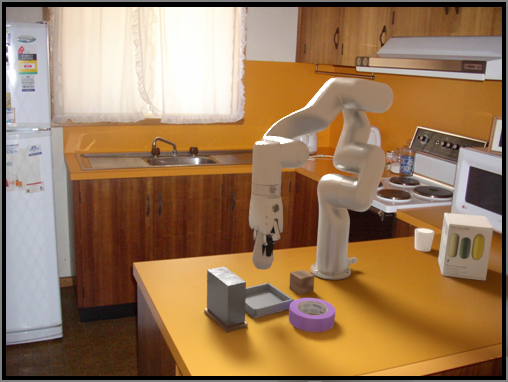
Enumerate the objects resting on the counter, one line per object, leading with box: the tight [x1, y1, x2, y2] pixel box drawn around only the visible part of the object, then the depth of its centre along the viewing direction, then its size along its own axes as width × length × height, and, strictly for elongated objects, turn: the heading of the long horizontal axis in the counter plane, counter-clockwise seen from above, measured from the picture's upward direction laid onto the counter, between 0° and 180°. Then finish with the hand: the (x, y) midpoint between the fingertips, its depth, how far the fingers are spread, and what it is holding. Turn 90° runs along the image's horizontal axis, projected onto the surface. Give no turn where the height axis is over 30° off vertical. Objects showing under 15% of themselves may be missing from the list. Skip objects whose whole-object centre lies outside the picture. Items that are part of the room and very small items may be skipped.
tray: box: [245, 282, 295, 319], centre depth 142 cm, size 12×12×2 cm
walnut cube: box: [289, 269, 315, 296], centre depth 151 cm, size 5×5×5 cm
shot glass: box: [414, 227, 436, 253], centre depth 187 cm, size 7×7×7 cm
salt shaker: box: [251, 226, 275, 271], centre depth 138 cm, size 6×6×13 cm
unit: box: [203, 266, 249, 333], centre depth 131 cm, size 6×12×12 cm, turn 32°
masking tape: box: [288, 297, 336, 333], centre depth 133 cm, size 12×12×4 cm
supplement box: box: [437, 212, 494, 281], centre depth 167 cm, size 13×13×18 cm
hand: (263, 255), depth 139 cm, fingers closed on salt shaker, 3 cm apart
